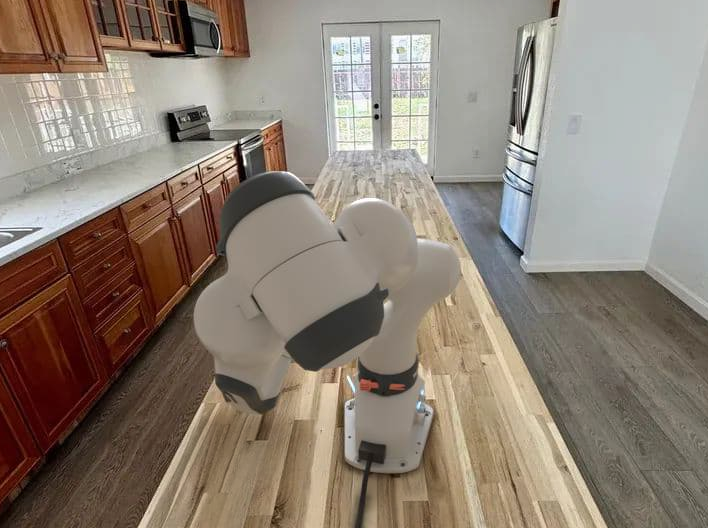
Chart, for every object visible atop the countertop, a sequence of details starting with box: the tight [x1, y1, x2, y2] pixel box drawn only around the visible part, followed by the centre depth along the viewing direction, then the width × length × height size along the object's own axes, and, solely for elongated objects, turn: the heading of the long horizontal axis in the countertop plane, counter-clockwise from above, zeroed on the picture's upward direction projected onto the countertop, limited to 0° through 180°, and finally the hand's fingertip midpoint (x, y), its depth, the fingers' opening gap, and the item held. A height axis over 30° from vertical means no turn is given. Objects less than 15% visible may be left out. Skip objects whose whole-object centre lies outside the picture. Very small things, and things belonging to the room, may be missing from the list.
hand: (267, 347), depth 104 cm, fingers closed
